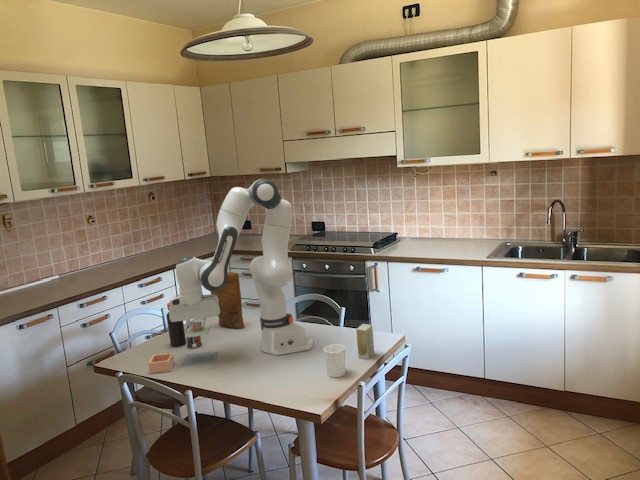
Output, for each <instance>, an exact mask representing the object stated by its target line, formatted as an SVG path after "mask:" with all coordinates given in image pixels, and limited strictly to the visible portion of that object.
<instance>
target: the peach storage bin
mask: <svg viewBox="0 0 640 480" xmlns="http://www.w3.org/2000/svg"><path fill="white" fill-rule="evenodd" d="M175 364H176V362H175V355H174V353H173V352H172V353H171V352H170V353H160V354H153V355H152V357H151V358H150V360H149V361H148V364H147V365H148V370H149V371H148V372H149V375H151V374H160V373H171V372H172V369H173V368H174V365H175Z"/></svg>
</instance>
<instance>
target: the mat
mask: <svg viewBox="0 0 640 480" xmlns="http://www.w3.org/2000/svg"><path fill="white" fill-rule="evenodd" d="M219 353H220V352H219V350H218V351H208V352H199V353H187V354H185V356H184V358H183V360H182V362H181V363H180V365H179V367H180V368H181V367H189V366H199V365H201V366H202V365H212V364H215V363H216V361H217V358H218V356H219Z"/></svg>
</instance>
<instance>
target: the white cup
mask: <svg viewBox="0 0 640 480" xmlns="http://www.w3.org/2000/svg"><path fill="white" fill-rule="evenodd" d="M323 355H324V363H325V368H326V374H327V376H328V377H330V378H340V377H344V376H345V375H346V347H345V345H344V344H339V343H334V344H333V343H331V344H327V345H326V346H324V348H323Z"/></svg>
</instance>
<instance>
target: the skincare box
mask: <svg viewBox="0 0 640 480" xmlns="http://www.w3.org/2000/svg"><path fill="white" fill-rule="evenodd" d="M355 330H356V341H357V342H356V343H357V354H358V358H359V359H365V360H369V359H370V358H371V357H372V356H373V355H374V354H375V345H374V343H375V342H374V334H373V333H374V331H373V324H367V323H362V324H360V325H359V326H358V327H357V328H356V329H355Z"/></svg>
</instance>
